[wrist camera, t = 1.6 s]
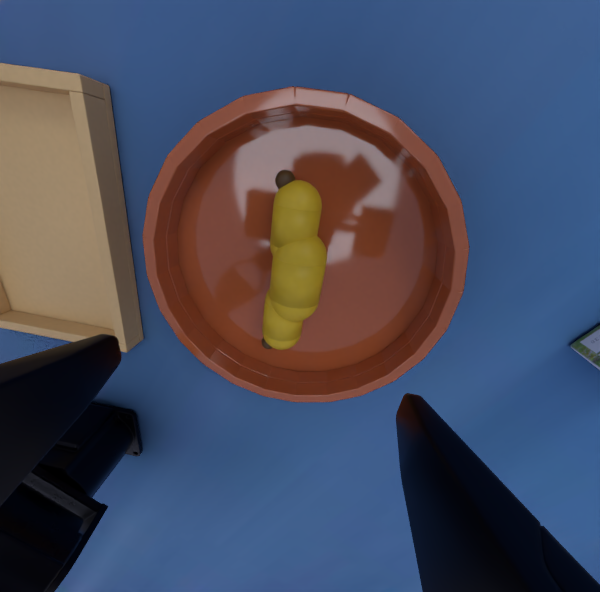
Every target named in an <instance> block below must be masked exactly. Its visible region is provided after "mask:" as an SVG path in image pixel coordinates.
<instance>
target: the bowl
mask: <svg viewBox="0 0 600 592" xmlns="http://www.w3.org/2000/svg"><path fill="white" fill-rule="evenodd" d="M281 170H289V171H291V172H292V173H293V174H294V176H295V180H302V181H306V182H308V183H310V184H311V185H312V186H314V187H315V189H316V190H317V191H318V193H319V195H320V198H321V202H322V210H321V216H320V222H319V228H318V235H317V236H318V237H319V238H320V239H321V240H322V242H323V243H324V245H325V248H326V252H327V262H326V268H325V273H324V278H323V284H322V289H321V294H320V300H319V303H318V306H317V308H316V310H315V312H314V313H313V314H312V315H311V316H310V317H308V318H306V319H305V320H303V326H302V332H301V336H300V339H299V340H298V342H297V343H296V344H295V345H294V346H293V347H291V348H289V349H285V350H278V349H275V348H271V349H265V348H264V347H263V346H262V343H261V341H262V338H263V334H262V326H263V315H264V304H265V296H266V294H267V291H268V290H269V289H270V281H271V271H272V260H273V255H272V253H271V249H270V237H271V226H272V215H273V204H274V198H275V195H276V193H277V192H278V190H279V189H278V188H277V186H276V183H275V178H276V175H277V174H278V172H280V171H281ZM143 246H144V254H145V263H146V272H147V275H148V276H147V277H148V280H149V282H150V285H151V288H152V291H153V293H154V296H155V299H156V301H157V304H158V307H159V309H160V311H161V313H162V314H163V316H164V317H165V319H166V320H167V322H168V324H169V325H170V327H171V328H172V330H173V331H174V333H175V334H176V336H177V337H178V339H179V340H180V342H181V343H183V344H184V345H185V346H186V347H187V348H188V349H189V350H190V351H191V352H192V353H193V354H194V355H195V356H196V357H197V358H198V359H199V360H200V361H201V362H202V363H203V364H204V365H205V366H207V367H208V368H210V369H211V370H213V371H214V372H216V373H217V374H219V375H221V376H222V377H224V378H225V379H227V380H228V381H230V382H231V383H233V384H235V385H237V386H240V387H242V388H245V389H247V390H250V391H252V392H254V393H257V394H259V395H263V396H266V397H271V398H276V399H281V400H286V401H291V402H333V401H338V400H343V399H348V398H353V397H357V396H362V395H364V394H366V393H369V392H371V391H373V390H375V389H378V388H380V387H382V386H385V385H387V384H389V383H391V382H393V381H395V380H396V379H398V378H399V377H400V376H402V375H403V374H404V373H406V372H407V371H408V370H410V369H411V368H412V367H414V366H415V365H416V364H418V363H419V362H420V361H422V360H423V359H424V358H425V356H426V355H427V354H428V353H429V352H430V350H431V349H432V348H433V347H434V345H435V344H436V343H437V342H438V340H439V339H440V338H441V337H442V335H443V334H444V333H445V332H446V330H447V328H448V326H449V324H450V322H451V319H452V317H453V315H454V313H455V310H456V308H457V306H458V303H459V301H460V299H461V297H462V294H463V291H464V285H465V277H466V269H467V262H468V254H469V242H468V236H467V230H466V224H465V218H464V213H463V207H462V202H461V199H460V197H459V195H458V193H457V191H456V189H455V187H454V185H453V184H452V182H451V180H450V178H449V176H448V174H447V172H446V170H445V168H444V166H443V164H442V162H441V160H440V158H439V157H438V156H437V154H436V153H435V152H434V151H433V150H432V149H431V148H430V147H429V146H428V145H426V144H425V143H424V142H423V141H422V140H421V139H420V138H419V137H418V136H417V135H416V134H415V133H414V132H413V131H412V130H411V129H410V128H409V127H408V126H407V125H406V124H405V123H404V122H403V121H402V120H401V119H399V118H398V117H397V116H395V115H393V114H391V113H389V112H386V111H384V110H382V109H380V108H378V107H376V106H374V105H372V104H370V103H368V102H366V101H364V100H362V99H360V98H358V97H356V96H354V95H352V94H348V93H342V92H335V91H327V90H320V89H312V88H305V87H294V86H292V87H287V88H282V89H276V90H271V91H266V92H261V93H256V94H251V95H246V96H243V97H240V98H238V99H237V100H235V101H233V102H231V103H230V104H228V105H226V106H224V107H223V108H221V109H219V110H217V111H216V112H214V113H212V114H210V115H209V116H207V117H205V118H203V119H202V120H200V121H199V122H197V123H196V124H195V125H194V126H193V128H192V129H191V130H190V131H189V132H188V133H187V134H186V135H185V136H184V138H183V139H182V140H181V141H180V142H179V143H178V144H177V145H176V146H175V147H174V149H173V150H172V151H171V152H170V153H169V154H168V155H167V158H166V159H165V162H164V164H163V166H162V168H161V170H160V172H159V175H158V177H157V179H156V181H155V183H154V185H153V188H152V190H151V192H150V194H149V197H148V202H147V209H146V216H145V223H144V230H143Z"/></svg>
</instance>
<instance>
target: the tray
mask: <svg viewBox="0 0 600 592" xmlns="http://www.w3.org/2000/svg"><path fill="white" fill-rule="evenodd" d="M0 328H5V329H10V330H15V331H20V332H25V333H30V334H36V335H41V336H46V337H51V338H56V339H61V340H66V341H71V342H76V341H79V340H82V339H86V338H89V337H92V336H96V335H99V334H108V335H113V336H116V337H117V338H118V341H119V346H120V351H122V352H128V351H130V350H131V349H132V348H133V347H134V346H136V345H137V344H138V343H139V342H141V341H142V340H143V339H144V338H143V331H142V323H141V316H140V309H139V301H138V294H137V287H136V279H135V272H134V265H133V257H132V250H131V243H130V235H129V228H128V221H127V213H126V206H125V199H124V191H123V184H122V177H121V169H120V162H119V155H118V147H117V140H116V133H115V125H114V118H113V111H112V103H111V96H110V88H109V86H108V85H106V84H104V83H101V82H98V81H96V80H93V79H91V78H88V77H86V76H83V75H81V74H77V73H70V72H62V71H55V70H48V69H41V68H33V67H26V66H19V65H12V64H4V63H0Z"/></svg>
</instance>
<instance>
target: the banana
mask: <svg viewBox="0 0 600 592" xmlns="http://www.w3.org/2000/svg"><path fill="white" fill-rule="evenodd" d="M275 183H276V186H277V188H278V189H279V190H278V192H277V193H276V195H275V198H274V204H273V215H272V226H271V237H270V249H271V253H272V255H273V260H272V271H271V281H270V289H269V290H268V291H267V294H266V296H265V304H264V315H263V326H262V334H263V338H262V341H261V343H262V346H263V347H264V348H265V349H271V348H275V349H278V350H285V349H289V348H291V347H293V346H294V345H295V344H296V343H297V342H298V340H299V339H300V336H301V332H302V326H303V320H305V319H306V318H308V317H310V316H311V315H312V314H313V313H314V312H315V310H316V308H317V306H318V303H319V300H320V294H321V289H322V284H323V278H324V273H325V268H326V262H327V252H326V248H325V245H324V243H323V242H322V240H321V239H320V238H319V237H318V236H317V235H318V228H319V222H320V216H321V210H322V202H321V198H320V195H319V193H318V191H317V190H316V189H315V187H314V186H312V185H311V184H310V183H308V182H306V181H302V180H295V176H294V174H293V173H292V172H291V171H289V170H281V171H280V172H278V174H277V175H276V178H275Z"/></svg>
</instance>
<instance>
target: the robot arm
mask: <svg viewBox="0 0 600 592" xmlns="http://www.w3.org/2000/svg"><path fill="white" fill-rule="evenodd" d="M120 362H121V351H120V346H119V341H118V338H117V337H116V336H113V335H108V334H99V335H96V336H92V337H89V338H86V339H82V340H79V341H76V342H72V343H69V344H66V345H62V346H59V347H56V348H52V349H49V350H45V351H42V352H39V353H35V354H32V355H29V356H25V357H22V358H19V359H15V360H12V361H9V362H5V363H2V364H0V592H54V591H55V590H56V589H57V587H58V586H59V585H60V583H61V582H62V581H63V579H64V578H65V577H66V575H67V574H68V572H69V571H70V569H71V568H72V566H73V565H74V563H75V562H76V560H77V558H78V557H79V555H80V553H81V552H82V550H83V548H84V547H85V545H86V543H87V541H88V540H89V538H90V536H91V535H92V533H93V531H94V530H95V528H96V526H97V525H98V523H99V521H100V520H101V518H102V516H103V514H104V513H105V511H106V509H107V508H108V506H107V505H105V504H103V503H102V504H101V503H99V502H98V501H96V500H94V499H93V498H92V497H93V495H94V494H95V493H96V492H97V490H98V489H99V488H100V486H101V485H102V484H103V482H104V481H105V480H106V478H107V477H108V476H109V474H110V473H111V472H112V470H113V469H114V468H115V467H116V465H117V464H118V463H119V461H120V460H121V459H122V457H123V456H124V455H125V454H129V455H133V456H140V454H141V453H142V445H141V440H140V434H139V428H138V422H137V417H136V413H135V412H133V411H131V410H127V409H122V408H117V407H112V406H108V405H103V404H98V403H93V402H92V401H93V399H94V398H95V397H96V395H97V394H98V393H99V391H100V390H101V388H102V387H103V386H104V384H105V383H106V382H107V380H108V379H109V378H110V376H111V375H112V374H113V372H114V371H115V369H116V368H117V367H118V365H119V364H120ZM396 426H397V437H398V449H399V461H400V471H401V479H402V485H403V490H404V495H405V500H406V506H407V511H408V516H409V521H410V527H411V532H412V537H413V543H414V548H415V553H416V558H417V564H418V569H419V574H420V579H421V585H422V590H423V592H600V584H599V583H598V582H597V581H596V580H595V579H594V578H593V577H592V576H591V575H590V574H589V573H588V572H587V571H586V570H585V569H584V568H583V567H582V566H581V565H580V564H579V563H578V562H577V561H576V560H575V559H574V558H573V557H572V556H571V555H570V553H569V552H568V551H567V550H566V549H565V548H564V547H563V546H562V545H561V544H560V543H559V542H558V541H557V540H556V539H555V538H554V537H553V536H552V535H551V534H550V532H549V531H548V530H547V529H546V528H545V527H544V526H540V522H539V521H538V520H537V519H536V518H535V517H534V516H533V515H532V514H531V512H530V511H529V510H528V509H527V508H526V507H525V506H524V505H523V504H522V503H521V502H520V501H519V500H518V499H517V498H516V497H515V496H514V494H513V493H512V492H511V491H510V490H509V489H508V488H507V487H506V486H505V485H504V484H503V483H502V482H501V481H500V480H499V479H498V477H497V476H496V475H495V474H494V473H493V472H492V471H491V470H490V469H489V468H488V467H487V466H486V465H485V464H484V463H483V462H482V461H481V459H480V458H479V457H478V456H477V455H476V454H475V453H474V452H473V451H472V450H471V449H470V448H469V447H468V446H467V445H466V444H465V442H464V441H463V440H462V439H461V438H460V437H459V436H458V435H457V434H456V433H455V432H454V431H453V430H452V429H451V428H450V427H449V426H448V424H447V423H446V422H445V421H444V420H443V419H442V418H441V417H440V416H439V415H438V414H437V413H436V412H435V411H434V410H433V409H432V407H431V406H430V405H429V404H428V403H427V402H426V401H425V400H424V399H423V398H422V397H421V396H419V395H414V394H409V393H407V394H405V395H404V397H403V399H402V401H401V404H400V406H399V409H398V411H397V415H396Z"/></svg>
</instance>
